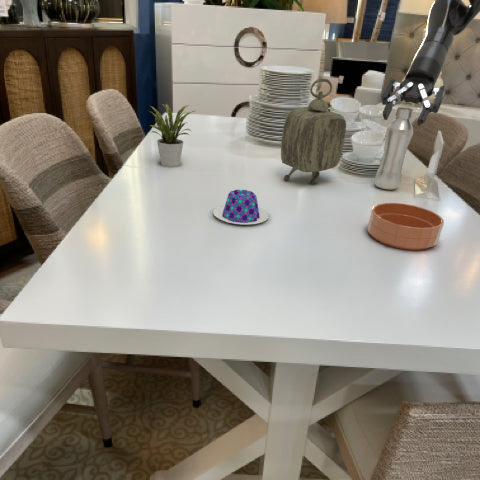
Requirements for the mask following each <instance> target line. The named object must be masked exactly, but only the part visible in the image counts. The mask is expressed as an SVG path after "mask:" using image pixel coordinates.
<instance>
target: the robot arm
mask: <svg viewBox="0 0 480 480" xmlns="http://www.w3.org/2000/svg"><path fill="white" fill-rule="evenodd" d="M468 3H469V4H468V5H467V4H466V3H465V1H463V0H434V2H433V3H432V5H431V6H430V7H431V8H430V10H429V13H428V18H427V25H426V32H425V37H424V39H423V41H422V43H421V45H420V46H419V49H418V50H417V52H416V53H415V55H414V57H413V59H412V61H411V63H410V66H409V68H408V71H407V73H406V75H405V77H404V79H403V80H402V81H401V82H397V81H396V80H395V79H394V78H392V79H390V80H389V82H388V84H387V86H386V88H385V89H384V91H383V93H382V95H381V104H382V105H383V106H384V108H383V110H382V117H383V120H384V121H387V120H388V119H389V117H390V115H391V112H392V111H393V107H395V106H397V105H401V104H402V103H404V102H405V103H412V104H416V105H417V104H419V103H420V107H421V108H422V110H421V112H420V114H419V116H418V119H417V122H416V123H417V127H421V126H422V125H423V124H425V123H426V121H427V119H428V117H429V114H431V113H433V114H437V113H438V112H439V111H440V107H441V105H442V102H443V99H444V97H445V90H446V87H445V86H444V85H441V86H440V87H435V86H436V84H437V81H438V79H439V77H440V74H441V72H442V70H443V68H444V65H445V63H446V60H447V57H448V54H449V53H450V50H451V48H452V46H453V43H454V39H455V37H456V36H458V35H460V34H462V33H463V32H465V30H466V29H467V28H468V27H469V25H470V24H471V23H472V22H473V20H474V19H475V18H476V17H477V16H478V15H479V14H480V0H468ZM393 93H394V94H393ZM432 95H434V98H435V99H434V101H433V103H430V101H429V97H431V96H432Z"/></svg>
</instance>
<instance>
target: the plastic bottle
mask: <svg viewBox="0 0 480 480" xmlns="http://www.w3.org/2000/svg"><path fill="white" fill-rule="evenodd" d="M413 111H414V109H413V108H410V107H401V106H399V107H397V108H396V112H395V118H394V119H393V120H392V121H391V123H389V125H388V126H387V128H386V131H385V139H384V140H385V141H384V147H383V153H382V157H381V160H380V163H379V166H378V169H377V170H376V172H375V176H374V185H375V186H376V187H377V188H379V189H383V190H391V191H392V190H395V189H397V188H398V187H399V186H400V183H401V181H402V170H403V165H404V160H405V156H406V154H407V150H408V148H409V145H410V143H411V140H412V138H413V135H414V127H413V124H412V122H411V118H412V117H413V113H414V112H413Z"/></svg>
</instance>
